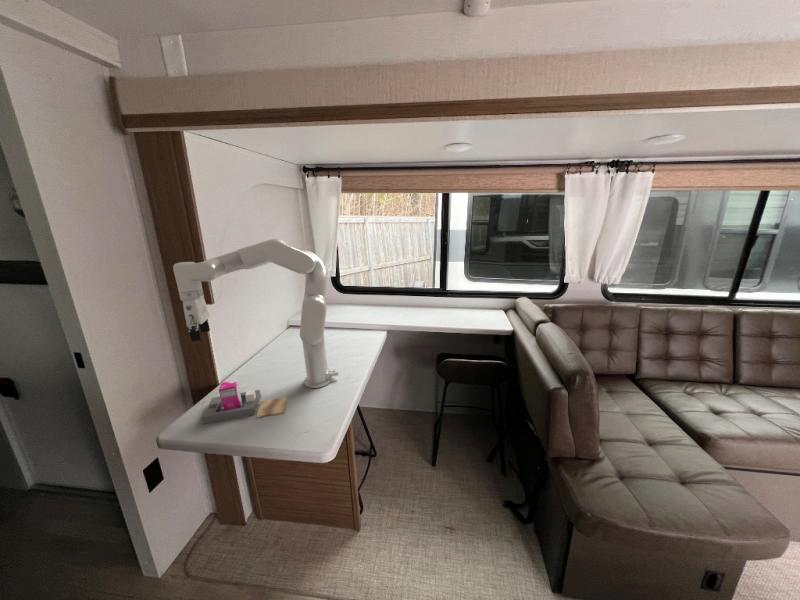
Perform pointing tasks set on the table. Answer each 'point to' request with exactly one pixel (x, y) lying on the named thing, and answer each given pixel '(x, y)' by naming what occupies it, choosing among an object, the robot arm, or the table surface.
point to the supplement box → (230, 395)
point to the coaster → (272, 407)
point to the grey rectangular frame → (215, 407)
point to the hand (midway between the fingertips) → (201, 335)
